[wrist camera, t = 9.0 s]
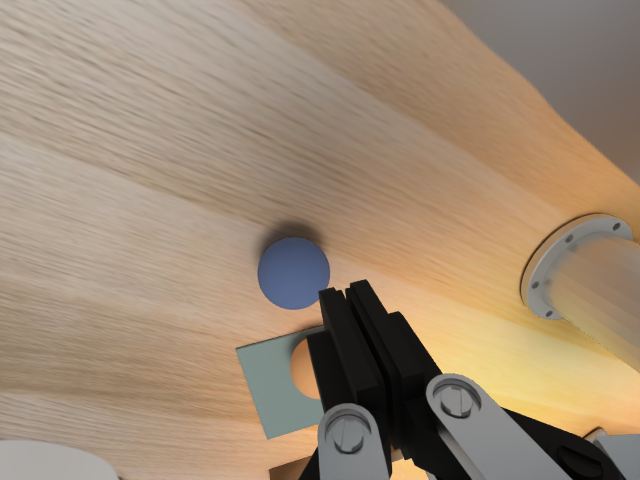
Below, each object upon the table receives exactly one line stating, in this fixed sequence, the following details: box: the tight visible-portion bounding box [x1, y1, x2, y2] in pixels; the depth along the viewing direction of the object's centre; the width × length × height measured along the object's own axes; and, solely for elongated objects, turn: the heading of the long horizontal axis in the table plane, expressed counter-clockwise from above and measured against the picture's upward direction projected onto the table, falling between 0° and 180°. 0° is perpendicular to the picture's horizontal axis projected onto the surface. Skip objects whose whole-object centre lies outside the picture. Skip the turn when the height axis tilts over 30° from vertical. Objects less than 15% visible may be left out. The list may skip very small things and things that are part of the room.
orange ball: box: [290, 339, 320, 399], centre depth 30 cm, size 5×5×5 cm
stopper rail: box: [269, 445, 403, 480], centre depth 40 cm, size 16×2×2 cm, turn 98°
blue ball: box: [258, 237, 330, 310], centre depth 25 cm, size 5×5×5 cm
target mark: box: [236, 325, 325, 440], centre depth 34 cm, size 14×14×1 cm
